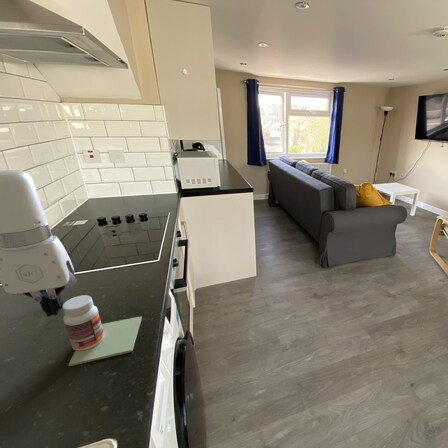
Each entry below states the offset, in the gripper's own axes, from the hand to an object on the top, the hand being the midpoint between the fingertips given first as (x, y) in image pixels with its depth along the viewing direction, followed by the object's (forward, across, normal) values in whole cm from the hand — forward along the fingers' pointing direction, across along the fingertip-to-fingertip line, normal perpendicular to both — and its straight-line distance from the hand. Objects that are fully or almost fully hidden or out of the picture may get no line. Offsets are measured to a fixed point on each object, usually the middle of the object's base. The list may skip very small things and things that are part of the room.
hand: (55, 311), depth 57 cm
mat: (+11, +8, 0) cm, 13 cm away
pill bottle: (+10, +4, 0) cm, 11 cm away
